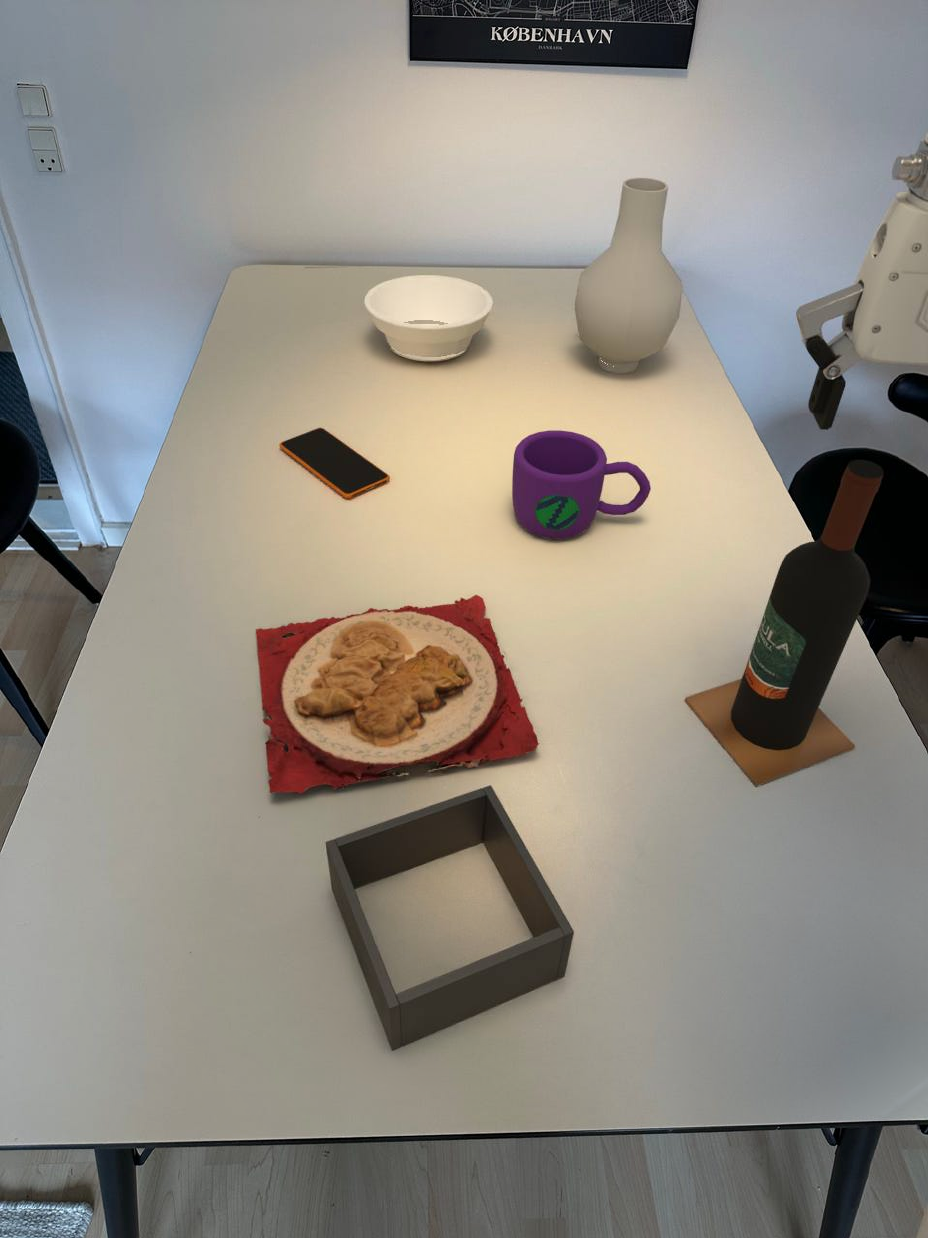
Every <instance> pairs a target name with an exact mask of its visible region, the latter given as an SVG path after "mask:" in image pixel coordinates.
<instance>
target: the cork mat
mask: <svg viewBox="0 0 928 1238" xmlns="http://www.w3.org/2000/svg"><path fill="white" fill-rule="evenodd" d="M741 680H742V678H739V679H736V680H734V681H730V682H728V683H724V684H721V685H718V686H716V687H712V688H710V689H706V690H704V691H700V692H697V693H694V694H691V695H689V696H686V697H685V698H684V702H685V703H686V704H687V705H688V707H689V708H690V709H691V710H692V712H693V713H694V714H695V715H696V717H698V719H699V720H700V721H701V722H702V723H703V725H704V726H705V728H706V729H707V730H708V731H709V732H710V733H711V734H712V736H713V737H714V738H715V739H716V741H718V743H719V744H720V745H721V747H722V748H723V749H724V750H725V751H726V752H727V755H729V756H730V757H731V759H732V760H733V761H734V762H735V763H736V764H737V766H738V767H739V768H740V769H741V771H742V772H743V773H744V774H745V775H746V777H747V778H748V779H749V780H750V781H751V783H752V784H753V785H754V786H755V787H758V786H762V785H764V784H767V783H769V782H772V781H774V780H777V779H780V778H782V777H785V776H788V775H790V774H793V773H795V772H798V771H801V770H803V769H805V768H808V767H810V766H813V765H815V764H818V763H821V762H824V761H826V760H829V759H831V758H832V759H833V758H834V757H836V756H840V755H842V754H845V753H847V752H850V751H852V750H854V749H855V748H856V745H855V743H853V742H852V741H851V739H849V738H848V736H847V735H845V734H844V732H843V731H842V730H841V729H840V728H839V727H838V726H837V725H836V724H835V723H834V722H833V721H832V720H831V719H830V718H829V717H828V716H827V715H826V714H825V713H824V712H823V710H821V709H820V707H818V709H817V712H816V714H815V716H814V719H813V721H812V723H811V726H810V728H809V730H808V732H807V735H806V737H805V739H804V740H803V741H802V742H801V743H800V744H799V745H798V746H796V747H793V748H791V749H787V750H771V749H765V748H762V747H760V746H757V745H755V744H753V743H751V742H750V741H748V740H747V739H745V738H743V737H742V735H741V734H740V733H739V732H738V731H737V730H736V729H735V727H734V725H733V723H732V720H731V710H732V707H733V704H734V701H735V698H736V695H737V692H738V689H739V686H740V683H741Z"/></svg>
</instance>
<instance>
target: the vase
mask: <svg viewBox="0 0 928 1238" xmlns="http://www.w3.org/2000/svg"><path fill="white" fill-rule="evenodd" d="M668 191H669V185H668V183H666V182H665V181H663V180H660V179H656V178H650V177H631V178H627V179H625V180H624V181H623V182H622V186H621V193H620V201H619V208H618V215H617V219H616V221H615V227H614V230H613V234H612V237H611V241H610V245H609V247H608V248H606V249H605V250H604V251H603V252H602V253H601V254H600V255H599V256H597V258H595V259H594V260H593V261H592V262H591V263H590V264H589V265H588V266H587V267H585V268H584V269H583V270H582V271H581V272H580V273H579V278H578V283H577V289H576V295H575V300H574V313H575V320H576V325H577V332H578V337H579V339H580V341H582V343H583V344H584V345H585V347H587V348H588V349H590V350H591V351H592V352H594V353H595V354H596V355H598V356H599V360H598V363H599V366H600V368H602V369H603V370H605V371H608V372H610V373H615V374H627V373H632V372H634V371H636V370H637V368H638V366H639V361H640V360H643V359H645V358H648V357H649V356H651V355H653V354H656V353H658V352H660V351H661V350H662V349H663V348H664V347H665V346H666V344H667V342H668V341H669V338H670V336H671V334H672V333H673V330H674V328H675V327H676V324H677V323H678V320H679V318H680V315H681V305H682V297H683V288H684V286H683V281H682V279H681V277H680V275H679V274H678V273H677V271H676V270H675V268H674V267H673V266H672V264H671V262H670V261H669V259H668V258H667V256H666V254H665V253H664V252H663V250H662V249H663V227H664V226H663V224H664V216H665V210H666V203H667V197H668ZM600 358H601V359H600ZM601 360H602V361H603V362H602V361H601ZM604 362H605V363H606V364H605V363H604ZM637 362H638V363H637ZM607 364H608V365H607ZM613 366H614V367H613Z"/></svg>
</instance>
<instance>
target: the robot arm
mask: <svg viewBox="0 0 928 1238" xmlns="http://www.w3.org/2000/svg"><path fill="white" fill-rule="evenodd" d="M925 134H926V135H925V137H924V140H923V141H920V142H919V144H918V146H917V147H918V148H917V150H916V152H915V153H914V154H910V155H909V156H900V155H899V156H897V157H896V158H895V160H894V163H893V165H892V168H891V179H892V180H893V181H903V183H904V184H905V185H906V187H907V191H899V192H897V193H896V194H895V197H894V198H893V200H892V202H891V204H890V205H889V207H888V209H887V210H886V212H885V214H884V216H883V217H882V219H881V222H880V224H879V225H878V228H877V229H876V231H875V234H874V235H873V238H872V240H871V242H870V244H869V247H868V249H867V251H866V253H865V255H864V258H863V260H862V262H861V265H860V268H859V270H858V273H857V274H856V277H855V280H854V282H853V285H850V286H847V287H845V288H842V289H840V290H838V291H835V292H832V293H830V294H828V295H825V296H823V297H820V298H817V299H815V300H813V301H810V302H807V303H805V304H802V305H800V306H799V307H798V308H797V309H796V311H795V315H796V320H797V324H798V327H799V331H800V335H801V341H802V344H803V345H804V347H805V349H806V351H807V353H808V354H809V356H810V357H811V358H812V361H814V363H816V365H817V366H818V368H817V373H816V375H815V379H814V381H813V385H812V389H811V391H810V395H809V398H808V402H807V403H808V405H807V406H808V410H809V412H810V413H811V414H812V415H813V417H814V419H815V422H816V424H817V426H818V429H819V430H822V431H823V430H824V431H825V430H826V431H828V430H829V429H831V428H832V427H833V424H834V421H835V418H836V415H837V413H838V410H839V406H840V404H841V400H842V397H843V394H844V392H845V389H846V384H847V381H846V380H845V378H844V376H843V374H844V373H846V372H847V371H849V370H850V369H852V368H853V366H855V365H857V363H859V362H861V361H862V360H866V361H868V362H871V363H878V364H891V365H907V366H908V365H910V366H926V367H927V366H928V130H927V131H926V133H925ZM838 317H842V320H841V329H842V331H841V332H840V333H838V334H837V335H835V336H834V337H833V338H832V339H831V340H830V341H828V342H826V340H825V339H824V337H823V332H822V331H823V330H822V327H823V325H824V324H825V323H826V322H828V321H831V320H834V319H836V318H838ZM915 1238H928V1203H927V1205H926V1207H925V1210H924V1213H923V1216H922V1219H921V1222H920V1224H919V1228H918V1231H917V1234H916V1236H915Z"/></svg>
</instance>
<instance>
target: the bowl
mask: <svg viewBox="0 0 928 1238" xmlns="http://www.w3.org/2000/svg"><path fill="white" fill-rule="evenodd" d="M493 300H494V299H493V298H492V295H491V294H490V293H489V292H488V291H487V290H486V289H485V288H484V287H481V286H480V285H478V284H476V283H474V282H471V281H469V280H465V279H463V278H462V279H461V278H458V277H452V276H447V275H438V274H437V275H436V274H420V275H419V274H418V275H408V276H400V277H397V278H392V279H388V280H386V281H382V282H380V283H379V284H376V285H375V286H373V287H372V288H370V289H369V290H368V291H367V293H366V295H365V297H364V300H363V302H364V303H363V304H364V306H365V309H366V311H367V313H368V315H369V317H370V319H371V321H372V323H373V325H374V326H375V327H376V329H377V330H378V331H380V332H381V333H382V334H384V336H385V339H386V342H387V344H388V343H389V345H390V346H391V347H393V348H394V349H395V350H397V351H399V352H401V353H403V354H410V355H415V356H421V357H441V356H447V355H451V354H458V353H460V352H462V351H464V350H465V349H466V348H467V347H468V346H470V344H471V341H472V339H473V336H474V335H475V334H476V333H479V331H480V330H481V329H482V328H483V327H484V325H485V323H486V321H487V319H488V317H489V315H490V313H491V312H492V309H493V306H494V301H493ZM414 320H433V321H440V322H444V323H448V324H444V325H439V324H409V323H404V322H408V321H414ZM389 345H388V346H389ZM468 349H469V347H468V348H467V349H466V350H465V351H464V352H463V353H461V354H459V355H457V356H455V357H451V358H447V359H441V360H418V359H412V358H408V357H405V356H402V355H400V354H398V353H396V352H395V351H393V350H392V349H391V348H390V350H391V351H392V352H393V353H395V354H396V355H397V356H400V357H402V358H406V359H409V360H413V361H417V362H418V361H420V362H441V361H447V360H450V359H454V358H456V357H459V356H461V355H462V354H464V353H465V352H466V351H468Z"/></svg>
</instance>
